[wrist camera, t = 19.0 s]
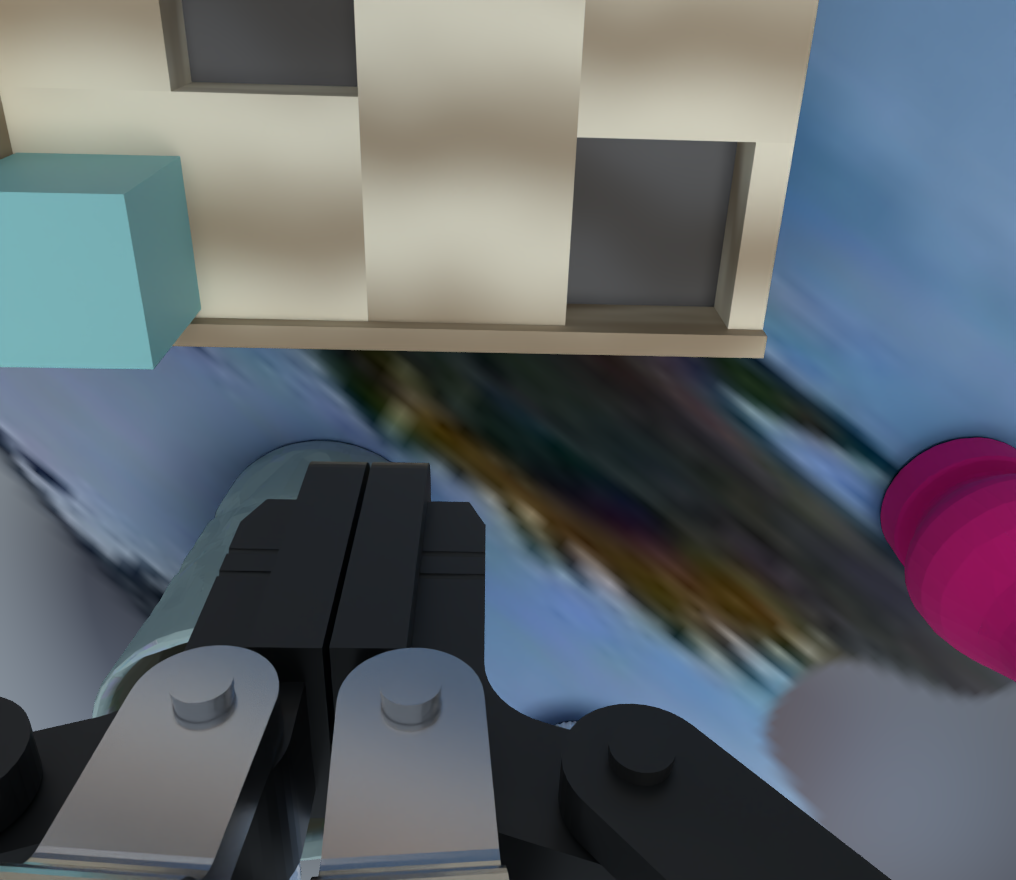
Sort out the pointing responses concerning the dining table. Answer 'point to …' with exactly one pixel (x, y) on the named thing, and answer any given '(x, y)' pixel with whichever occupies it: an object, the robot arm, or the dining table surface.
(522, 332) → the tray
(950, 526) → the pepper mill
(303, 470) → the grey green cup
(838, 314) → the dining table surface
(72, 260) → the teal block
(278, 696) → the robot arm
